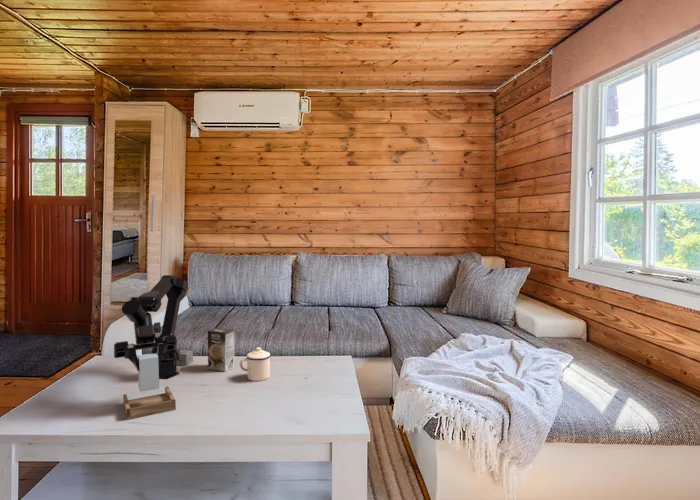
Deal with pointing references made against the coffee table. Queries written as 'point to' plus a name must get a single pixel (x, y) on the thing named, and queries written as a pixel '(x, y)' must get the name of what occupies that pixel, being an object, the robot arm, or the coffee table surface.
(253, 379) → the teacup with lid
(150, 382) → the tall block
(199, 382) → the coffee table surface
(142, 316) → the robot arm
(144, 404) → the tray
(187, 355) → the dice cube
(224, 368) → the coffee box
